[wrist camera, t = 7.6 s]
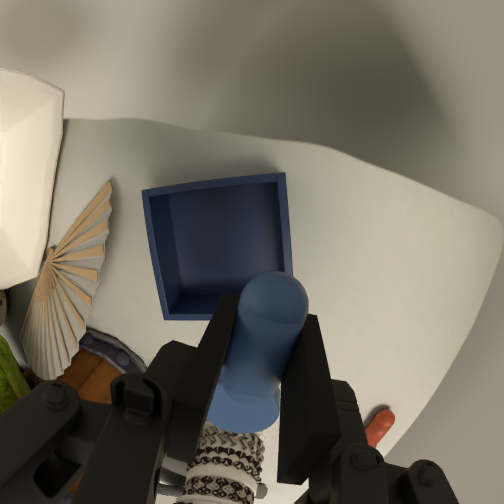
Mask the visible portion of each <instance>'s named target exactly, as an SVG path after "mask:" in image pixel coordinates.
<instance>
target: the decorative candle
mask: <svg viewBox="0 0 504 504" xmlns="http://www.w3.org/2000/svg"><path fill="white" fill-rule="evenodd" d="M264 442H265V439H264V435H263V433H262V432H261V431H259V432H255V433H246V434H243V433H234V432H230V431H226V430H224V429H221V428H219V427H217V426H215V425H214V424H213V423H211V422H210V421H209V420H207V421H206V422H205V424H204V428H203V431H202V434H201V437H200V440H199V444H198V447H197V450H196V453H195V456H194V459H193V463H192V465H191V464H187V466H188V468H187V469H186V471H187V472H188V474H187V477H186V482H185V484H186V486H185V489H184V491H183V495H182V496H180V497H178V498H177V499H176V503H173V504H253V502H254V497H255V496H256V492H257V487H258V485H259V483H260V482H261V478H260V477H259V475H260V474H259V473H260V472H262V468H261V467H260V466H261V463H262V462H263V460H264V457H263V455H262V453H263V452H264V451H265V448H264V446H263V444H264Z"/></svg>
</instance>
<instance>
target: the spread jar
mask: <svg viewBox="0 0 504 504" xmlns="http://www.w3.org/2000/svg"><path fill="white" fill-rule="evenodd" d="M8 310H9V294H8V290H7V289H2V290H0V326H1V325H2V324H3V323H4V321H5V319H6V317H7V314H8Z"/></svg>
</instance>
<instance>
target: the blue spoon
mask: <svg viewBox="0 0 504 504" xmlns="http://www.w3.org/2000/svg"><path fill="white" fill-rule="evenodd" d="M308 306H309V301H308V296H307V294H306V291H305V289H304V287H303V286H302V284H301V283H300V282H299V281H298V280H297V279H296V278H294V277H293V276H291V275H289V274H287V273H284V272H280V271H269V272H264V273H262V274H259V275H257V276H256V277H254V278H253V279H251V280H250V281H249V282H248V283H247V285H246V286H245V288H244V290H243V291H242V294H241V297H240V300H239V304H238V310H237V314H236V318H235V322H234V325H233V329H232V333H231V337H230V341H229V344H228V348H227V352H226V356H225V360H224V363H223V367H222V370H221V373H220V376H219V380H218V383H217V386H216V389H215V392H214V396H213V399H212V402H211V405H210V408H209V412H208V415H207V419H208V420H209V421H210V422H211V423H213V424H214V425H215V426H217V427H219V428H221V429H224V430H226V431H230V432H234V433H243V434H246V433H255V432H259V431H262V430H265V429H267V428H268V427H270V426H271V425H272V424H273V423H274V422H275V421H276V419H277V418H278V415H279V410H280V389H279V385H280V382H281V380H282V377H283V375H284V372H285V370H286V368H287V365H288V363H289V360H290V358H291V355H292V353H293V350H294V348H295V345H296V343H297V340H298V338H299V335H300V333H301V330H302V328H303V326H304V323H305V320H306V318H307V314H308Z"/></svg>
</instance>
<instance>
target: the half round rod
mask: <svg viewBox="0 0 504 504" xmlns="http://www.w3.org/2000/svg"><path fill="white" fill-rule="evenodd" d="M166 456H167V453H166V455H165V457H164V460H163V462H162V467H163V468H166V469H168V470H170V471H173V472H175V473H178V474H180V475H183V476H185V477H187V474H188V472H187V471H186V469H187V468H188V466H187V464H188V463H185V462H181V461H178V460H175V459H172V458H169V457H166ZM266 494H267V488H266V487H265V486H264V485H260V484H259V485H258V487H257V492H256V496H255V497H254V498H257V499H263V498H264V497H265V496H266Z"/></svg>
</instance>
